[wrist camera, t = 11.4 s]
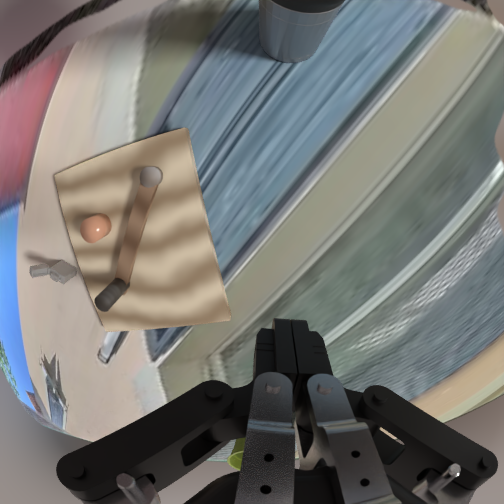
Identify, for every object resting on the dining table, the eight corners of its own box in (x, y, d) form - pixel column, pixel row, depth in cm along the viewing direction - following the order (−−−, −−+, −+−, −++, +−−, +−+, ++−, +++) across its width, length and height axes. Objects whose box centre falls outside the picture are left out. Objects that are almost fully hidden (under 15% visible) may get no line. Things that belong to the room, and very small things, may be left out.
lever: (148, 163, 39) (125, 166, 31) (165, 170, 39) (145, 174, 32) (114, 285, 46) (93, 307, 38) (128, 292, 46) (109, 315, 38)
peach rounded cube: (90, 216, 42) (77, 221, 39) (107, 210, 42) (95, 216, 38) (96, 238, 44) (84, 245, 40) (114, 233, 43) (102, 240, 40)
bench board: (60, 174, 42) (54, 175, 40) (188, 128, 40) (184, 127, 38) (110, 326, 52) (106, 332, 50) (231, 314, 50) (230, 320, 48)
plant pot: (283, 434, 62) (284, 469, 51) (239, 440, 63) (236, 474, 52) (273, 409, 58) (274, 447, 48) (224, 415, 60) (219, 452, 49)
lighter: (76, 268, 48) (54, 285, 40) (75, 275, 49) (53, 293, 41) (52, 252, 47) (28, 267, 40) (51, 260, 48) (27, 275, 40)
